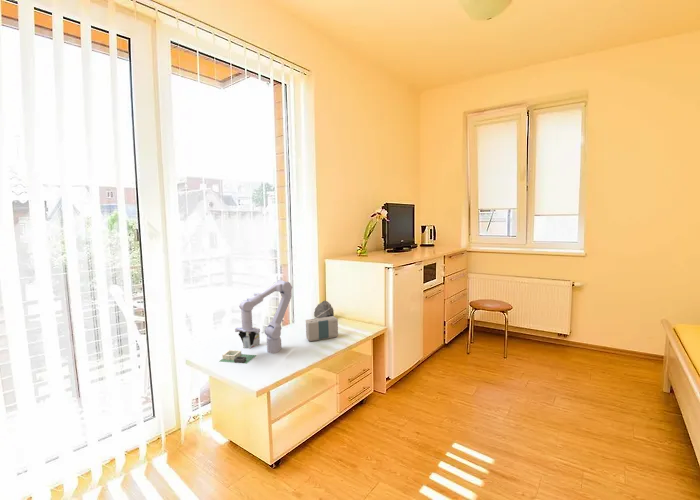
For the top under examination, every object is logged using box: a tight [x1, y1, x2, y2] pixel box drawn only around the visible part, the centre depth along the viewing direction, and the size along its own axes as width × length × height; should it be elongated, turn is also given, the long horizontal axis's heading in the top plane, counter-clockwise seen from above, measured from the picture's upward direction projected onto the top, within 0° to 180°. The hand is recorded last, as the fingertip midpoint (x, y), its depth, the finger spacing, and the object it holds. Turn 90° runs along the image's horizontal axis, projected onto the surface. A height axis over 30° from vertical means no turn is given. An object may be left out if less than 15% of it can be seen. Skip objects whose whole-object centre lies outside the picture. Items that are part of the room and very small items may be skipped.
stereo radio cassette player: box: [305, 306, 339, 342], centre depth 241 cm, size 21×8×20 cm, turn 114°
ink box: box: [246, 326, 261, 349], centre depth 227 cm, size 9×5×12 cm, turn 137°
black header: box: [233, 356, 246, 364], centre depth 203 cm, size 5×4×2 cm
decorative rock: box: [313, 300, 335, 318], centre depth 285 cm, size 16×7×15 cm, turn 62°
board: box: [218, 353, 257, 364], centre depth 208 cm, size 12×17×1 cm
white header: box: [221, 349, 242, 360], centre depth 209 cm, size 8×8×2 cm
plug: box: [242, 336, 253, 349], centre depth 207 cm, size 4×4×6 cm
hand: (248, 344), depth 208 cm, fingers closed on plug, 4 cm apart
